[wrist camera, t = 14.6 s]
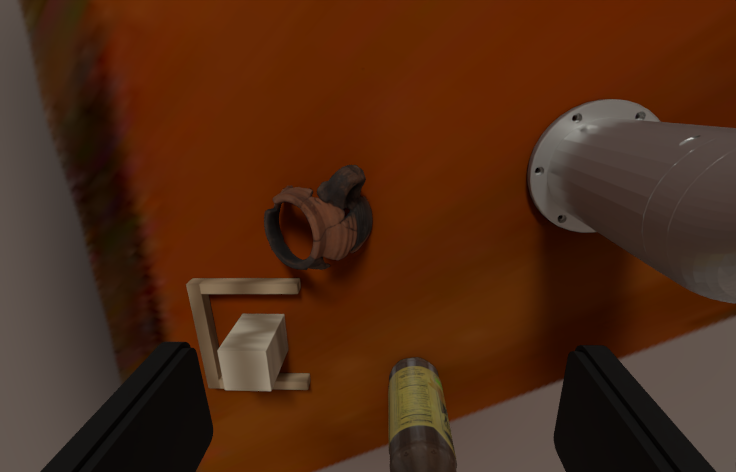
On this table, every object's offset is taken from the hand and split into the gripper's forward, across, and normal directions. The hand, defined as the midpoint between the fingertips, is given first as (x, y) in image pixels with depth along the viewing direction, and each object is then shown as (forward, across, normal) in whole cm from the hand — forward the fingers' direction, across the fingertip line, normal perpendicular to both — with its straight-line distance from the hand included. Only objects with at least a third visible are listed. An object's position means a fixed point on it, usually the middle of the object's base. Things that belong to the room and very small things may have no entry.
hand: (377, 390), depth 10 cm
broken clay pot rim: (+31, +6, +4) cm, 31 cm away
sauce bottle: (+31, -3, +25) cm, 40 cm away
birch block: (+30, +15, +19) cm, 39 cm away
